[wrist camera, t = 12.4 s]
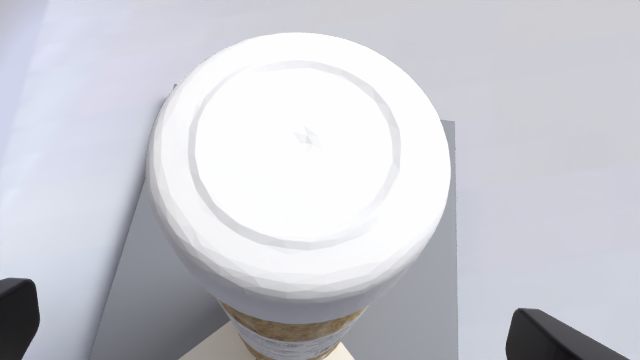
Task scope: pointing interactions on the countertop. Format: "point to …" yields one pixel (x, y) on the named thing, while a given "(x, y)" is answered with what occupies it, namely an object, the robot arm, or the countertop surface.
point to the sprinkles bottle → (297, 185)
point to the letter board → (219, 332)
